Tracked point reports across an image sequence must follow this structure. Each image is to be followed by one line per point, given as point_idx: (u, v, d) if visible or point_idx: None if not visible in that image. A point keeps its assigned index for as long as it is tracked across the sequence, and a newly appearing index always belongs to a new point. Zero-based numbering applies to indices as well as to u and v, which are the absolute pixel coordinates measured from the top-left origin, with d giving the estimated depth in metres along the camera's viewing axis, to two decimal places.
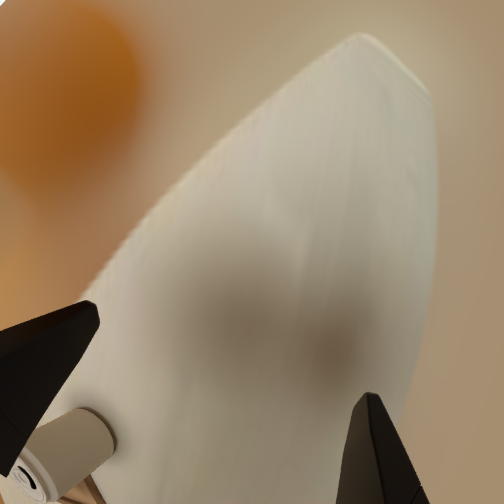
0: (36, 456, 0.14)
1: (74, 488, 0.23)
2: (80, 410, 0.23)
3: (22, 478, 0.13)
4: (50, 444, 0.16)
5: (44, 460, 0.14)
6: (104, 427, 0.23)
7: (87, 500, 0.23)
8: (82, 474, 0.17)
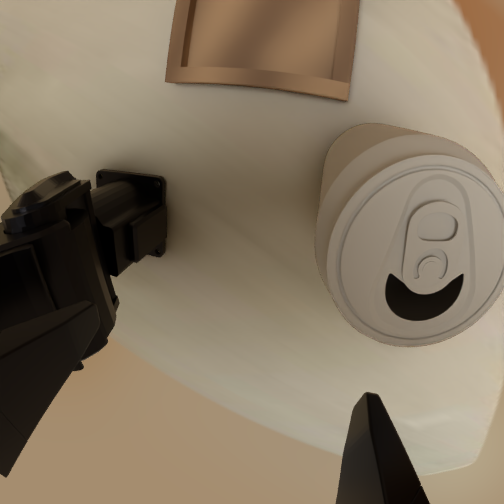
0: None
1: (233, 23, 0.14)
2: None
3: (427, 257, 0.07)
4: None
5: None
6: None
7: (203, 43, 0.15)
8: None
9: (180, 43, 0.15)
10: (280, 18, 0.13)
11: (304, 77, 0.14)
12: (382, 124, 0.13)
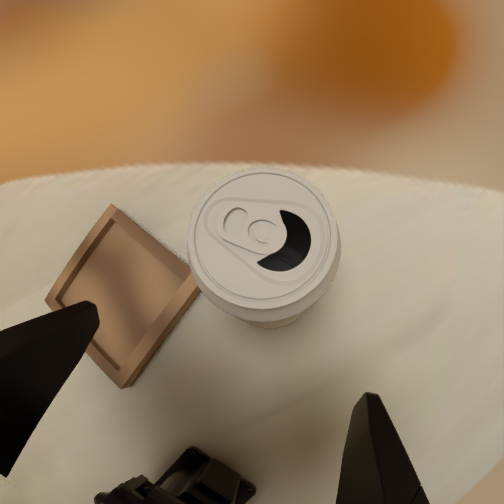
0: (339, 233, 0.12)
1: (114, 319, 0.22)
2: (300, 251, 0.22)
3: (254, 234, 0.11)
4: None
5: None
6: None
7: (114, 347, 0.21)
8: (294, 318, 0.15)
9: (103, 359, 0.20)
10: (129, 288, 0.23)
11: (174, 297, 0.21)
12: None
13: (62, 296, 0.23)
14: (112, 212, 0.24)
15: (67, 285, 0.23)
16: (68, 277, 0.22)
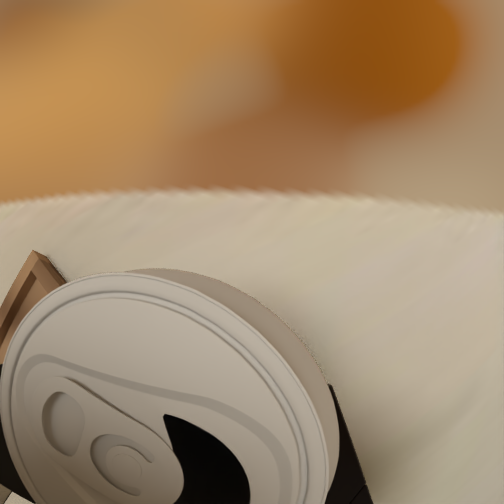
0: (337, 428, 0.04)
1: None
2: None
3: (107, 462, 0.03)
4: None
5: None
6: None
7: None
8: None
9: None
10: None
11: None
12: None
13: None
14: (33, 263, 0.16)
15: None
16: None
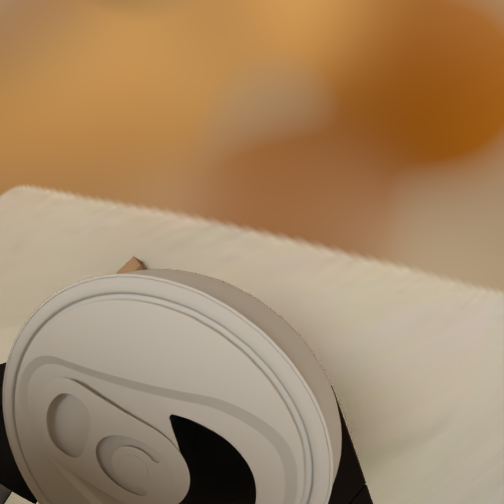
0: (340, 426, 0.04)
1: None
2: None
3: (113, 463, 0.03)
4: None
5: None
6: None
7: None
8: (253, 484, 0.07)
9: None
10: None
11: None
12: None
13: None
14: (134, 268, 0.22)
15: None
16: None
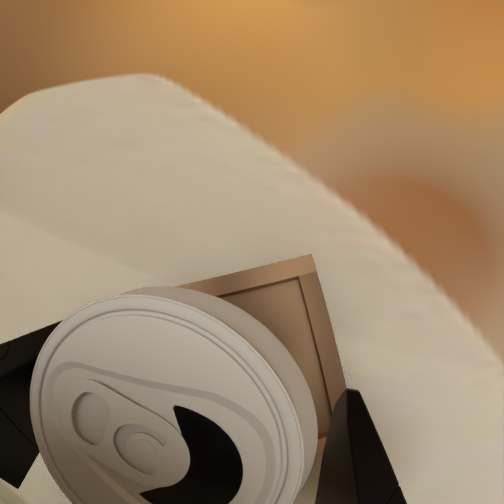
0: (316, 417, 0.05)
1: None
2: None
3: (128, 448, 0.04)
4: None
5: None
6: None
7: None
8: None
9: None
10: None
11: None
12: None
13: None
14: (305, 270, 0.16)
15: None
16: None
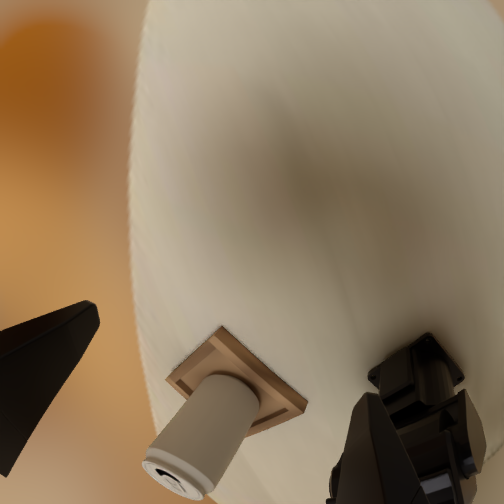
0: (150, 447, 0.19)
1: None
2: None
3: (174, 483, 0.17)
4: (164, 429, 0.21)
5: (156, 443, 0.19)
6: (213, 376, 0.26)
7: (273, 404, 0.26)
8: (211, 427, 0.20)
9: (279, 416, 0.25)
10: None
11: (230, 359, 0.25)
12: None
13: None
14: (171, 380, 0.30)
15: None
16: None
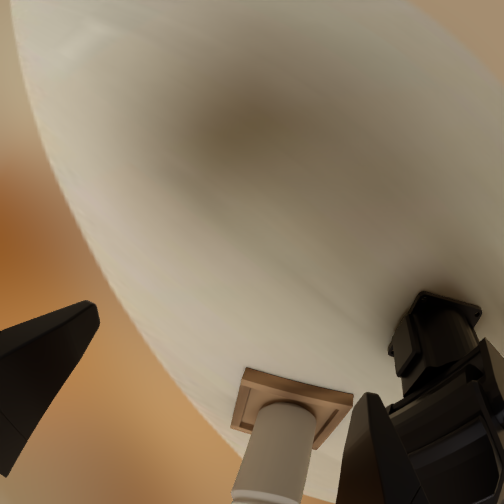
0: None
1: None
2: None
3: None
4: None
5: (235, 485, 0.20)
6: (262, 409, 0.28)
7: (325, 409, 0.27)
8: (273, 455, 0.22)
9: (335, 417, 0.26)
10: None
11: (265, 391, 0.26)
12: None
13: None
14: (235, 426, 0.31)
15: None
16: None
